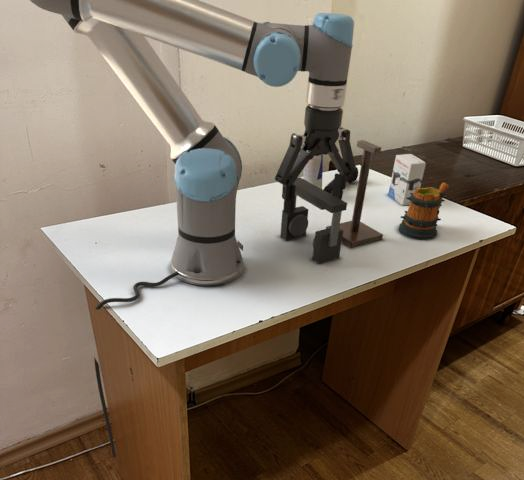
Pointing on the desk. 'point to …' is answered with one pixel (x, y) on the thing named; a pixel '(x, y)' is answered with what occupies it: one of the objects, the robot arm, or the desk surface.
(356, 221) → the stand
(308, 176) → the energy drink
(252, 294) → the desk surface
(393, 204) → the desk surface
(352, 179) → the microphone
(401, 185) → the ink box
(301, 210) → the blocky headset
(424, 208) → the mug
